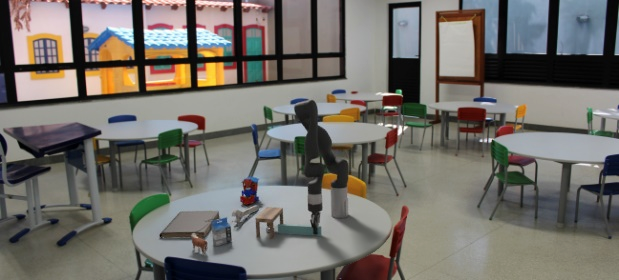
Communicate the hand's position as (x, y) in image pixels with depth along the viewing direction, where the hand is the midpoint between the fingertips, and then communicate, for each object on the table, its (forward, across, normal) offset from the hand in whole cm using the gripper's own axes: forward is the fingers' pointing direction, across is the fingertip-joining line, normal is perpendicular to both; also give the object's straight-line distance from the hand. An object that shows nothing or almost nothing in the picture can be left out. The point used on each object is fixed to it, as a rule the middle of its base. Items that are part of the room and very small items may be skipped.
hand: (315, 233), depth 274 cm
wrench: (+1, -20, -46) cm, 50 cm away
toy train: (+1, -46, -53) cm, 71 cm away
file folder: (+2, -1, -70) cm, 71 cm away
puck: (+1, 0, -25) cm, 25 cm away
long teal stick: (+1, 0, -9) cm, 9 cm away
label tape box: (+1, +19, -44) cm, 48 cm away
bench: (+1, 0, -25) cm, 25 cm away
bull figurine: (+1, +30, -51) cm, 59 cm away
